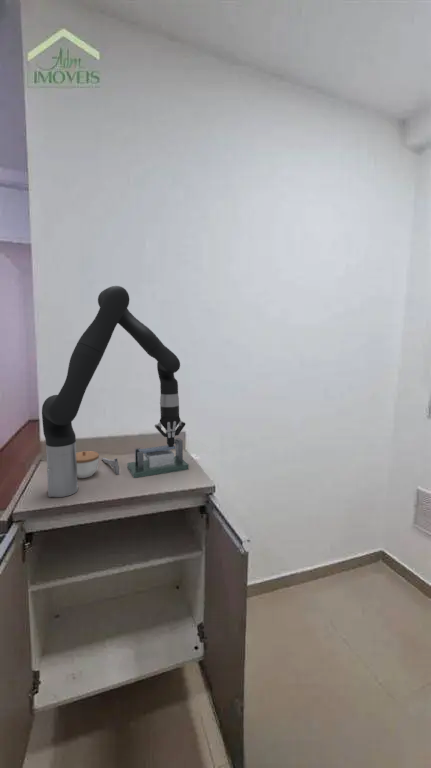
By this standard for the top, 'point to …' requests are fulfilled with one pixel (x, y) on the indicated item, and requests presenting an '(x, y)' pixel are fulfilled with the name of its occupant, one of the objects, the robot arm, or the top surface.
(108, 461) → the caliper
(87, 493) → the top surface
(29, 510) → the top surface
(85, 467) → the lidded jar
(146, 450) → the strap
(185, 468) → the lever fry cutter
